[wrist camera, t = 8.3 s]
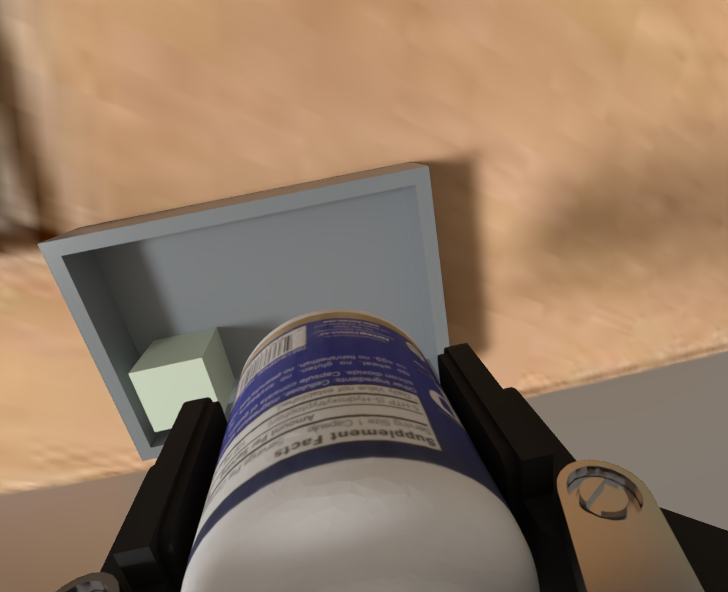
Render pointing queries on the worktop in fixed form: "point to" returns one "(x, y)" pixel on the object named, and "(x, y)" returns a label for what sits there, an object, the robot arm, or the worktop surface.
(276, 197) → the bin
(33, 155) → the worktop surface
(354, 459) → the pill bottle
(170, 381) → the sage block
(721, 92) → the worktop surface
